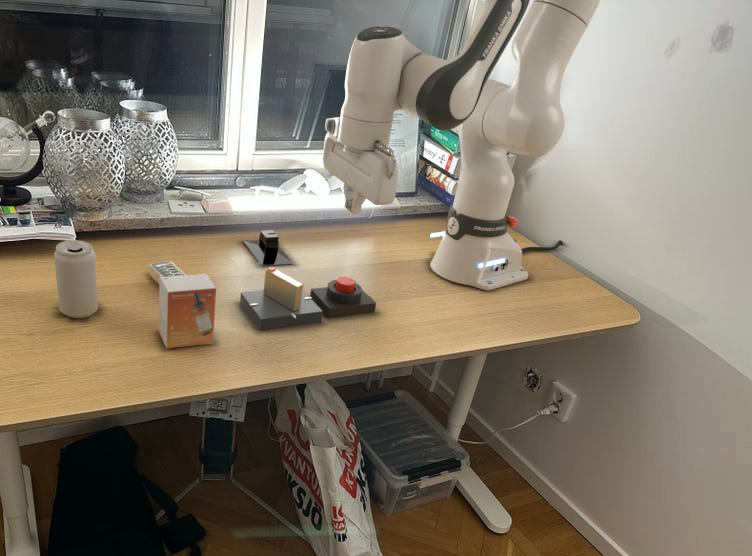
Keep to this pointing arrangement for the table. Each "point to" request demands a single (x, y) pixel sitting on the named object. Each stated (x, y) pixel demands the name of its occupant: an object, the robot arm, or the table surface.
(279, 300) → the pointer
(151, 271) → the multiport hub
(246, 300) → the dial panel
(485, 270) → the robot arm
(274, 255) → the build plate
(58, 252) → the beverage can
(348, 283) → the button
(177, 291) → the small box
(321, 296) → the button box
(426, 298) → the table surface
